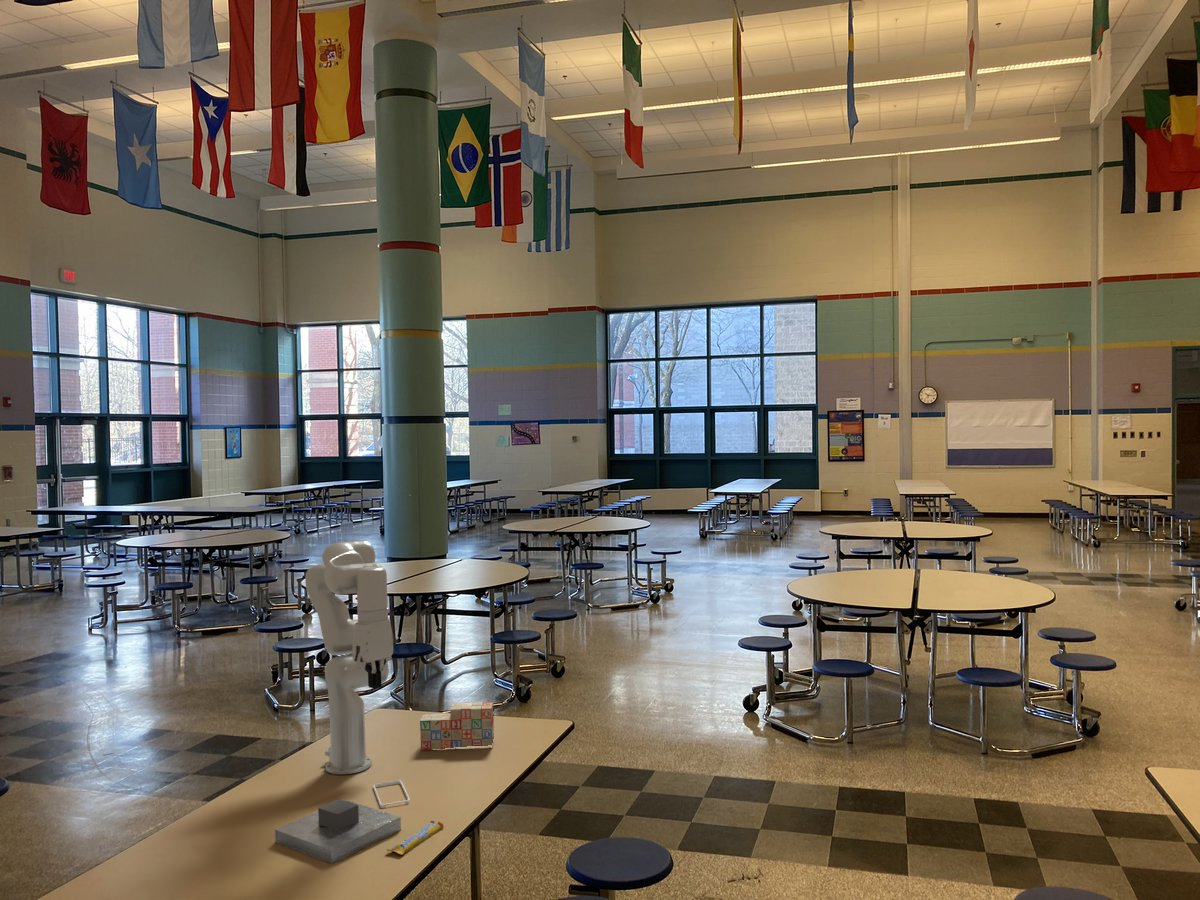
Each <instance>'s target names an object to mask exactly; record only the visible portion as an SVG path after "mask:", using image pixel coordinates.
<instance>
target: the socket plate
mask: <svg viewBox="0 0 1200 900" xmlns="http://www.w3.org/2000/svg"><path fill="white" fill-rule="evenodd" d="M343 800H344V801H347V802H350V803H354V804H357V805H358V811H359V822H358V823H356V824H353V825H351V826H349V827H347V828H345V829H343V830H341V831H335V830H332V829H329V828H324V827H323V826H320V825H319V815H318V811H315V812H313V813H309V814H308V815H306V816H304V817H301V818H299V819H296V820H293V821H292V822H289V823H287V824H285V825H283V826H280V827H278V828H276V829H274V839H275V843H276V844H278V845H281V846H283V847H286V848H289V849H291V850H294V851H295V852H296V851H297V852H299V853H302V854H304V855H308V856H309V857H313V858H315V859H318V860H321V861H323V862H325V863H329V864H332V865H333V864H335V863H337V862H339V861H341V860H343V859H345V858H347V857H349V856H351V855H353V854H355V853H357V852H359V851H361V850H362V849H365V848H367V847H369V846H371V845H373V844H376V843H377V842H379V841H381V840H383V839H384V838H387V837H389V836H391V835H393V834H395V833H398V832H399V831H401V830H402V821H401V820H402V819H401V816H399V815H395V814H392V813H389V812H387V811H382V810H380V809H376V808H373V807H370V806H367V805H365V804H364V805H363V804H362V803H361V804H360V803H357V802H353V801H351V800H348V799H343Z"/></svg>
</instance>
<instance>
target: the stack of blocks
mask: <svg viewBox="0 0 1200 900" xmlns="http://www.w3.org/2000/svg"><path fill="white" fill-rule="evenodd" d="M494 729H495V727H494V702H482V701H479V702H464V703H463V702H462V703H460V702H459V703H452V705H451V708H450V712H449V713H433V714H432V713H427V714H423V715H422V716H421V718H420V721H419V730H420V731H419V732H420V751H421V752H423V751H424V750H433V749H445V748H454V747H467V746H488V745H492V743H493V739H494V740H495V737H494V736H495V735H494V734H495V731H494ZM493 744H494V743H493ZM424 752H425V751H424Z"/></svg>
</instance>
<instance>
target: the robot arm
mask: <svg viewBox="0 0 1200 900" xmlns="http://www.w3.org/2000/svg"><path fill="white" fill-rule="evenodd" d="M321 556H322V558H321V559H322V563H319V564H316V565H313V566H311V567H310V568H308V570H307V571H306V573H305V578H304V579H305V580H304V581H305V588H306V589H305V590H306V592H307V596H308V598H309V600H310V603H311V604H312V606H313V608H314V609H315V612H316V613H317V616H318V620H319V625H320V631H321V634H322V635H321V636H322V640H323V643H324V648H325V650H326V652H327V653H328V654H329V655H331V656H335V657H333V658H330V660H328V662H327V663H326V664H325V667H324V677H325V682H326V687H327V692H328V703H329V704H328V705H329V707H328V708H329V710H328V711H329V733H330V734H329V736H330V737H329V738H330V747H329V748H328V750H325V752H324V755H325V756H326V757H328V759H329V761H328V762H327V763H326V764H325V771H326V772H327V773H329V774H331V775H339V776H340V775H351V774H356V773H360V772H363V771H366V770H367V769H369V768H371V766H372V764H373V763H372V761H373V760H372V758H371V757H369V756H367V751H366V750H367V749H366V747H367V746H366V718H365V717H366V716H365V715H366V714H365V713H366V712H365V702H364V700H363V699H362V697H361V696H360V695H359V694H358V693H357V692H356V691H355V690H356V689H361V688H365V687H368V688H371V689H375V690H376V689H379V688H380V689H381V688H382V684H383V683H385V682H386V681H387V679H388V678H389V675H390V674H389V672H390V671H389V670H390V669H389V663H388V662H390V661H391V660H392V658H393V657H392V655H393V654H394V636H393V631H392V624H391V620H390V619H389V613H390V612H391V609H390V607H388V605H389V603H388V578H387V577H388V576H387V573H388V572H387V570H386V568H384V567H383V566H382V565H381V564H380V563H379V562H376V551H375V548H374V546H373V545H372V543H371V542H369V541H367V540H355V541H353V540H352V541H342V542H340V541H339V542H336V543H335V542H334V543H331V544H330V545H328V546H327V547H325V549H324V550H323V553H322V555H321ZM352 594H356V603H357V604H356V606H357V609H356V610H357V619H351V617H350V613H349V608H348V605H346V603H345V602H344V601H343V600H342V599H340V598H339V597H338V596H339V595H340V596H343V595H352ZM336 595H338V596H336Z"/></svg>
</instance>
